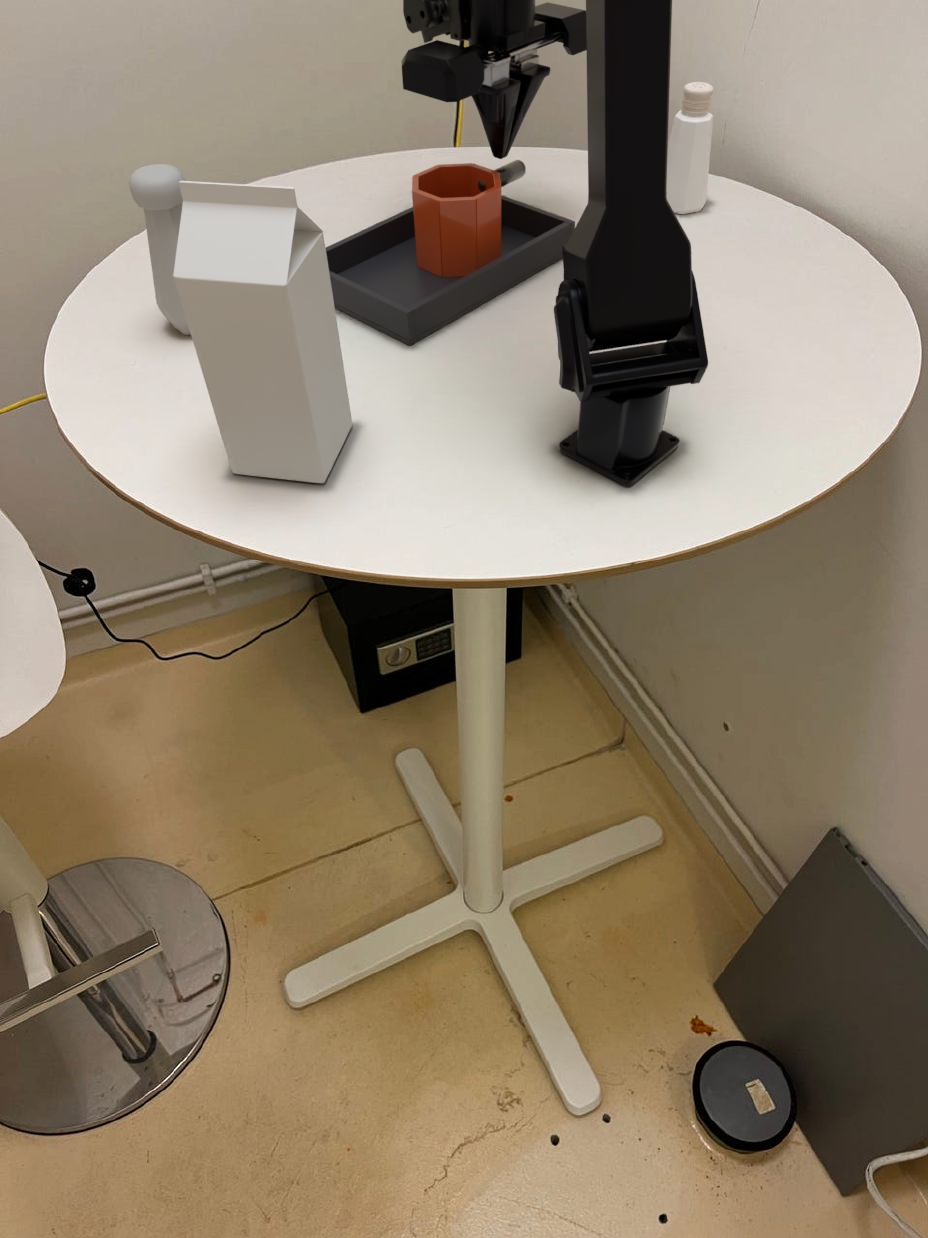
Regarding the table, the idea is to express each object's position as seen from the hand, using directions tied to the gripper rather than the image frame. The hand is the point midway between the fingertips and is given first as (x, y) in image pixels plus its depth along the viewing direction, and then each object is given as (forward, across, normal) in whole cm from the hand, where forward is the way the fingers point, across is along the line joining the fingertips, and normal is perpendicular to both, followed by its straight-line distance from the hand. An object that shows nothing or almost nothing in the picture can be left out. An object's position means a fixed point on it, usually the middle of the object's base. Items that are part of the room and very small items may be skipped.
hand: (500, 156), depth 79 cm
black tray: (+8, +8, 0) cm, 12 cm away
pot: (+7, +3, 0) cm, 8 cm away
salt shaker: (+8, +30, -10) cm, 32 cm away
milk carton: (+8, +36, +11) cm, 38 cm away
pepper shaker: (+8, -18, +9) cm, 22 cm away
